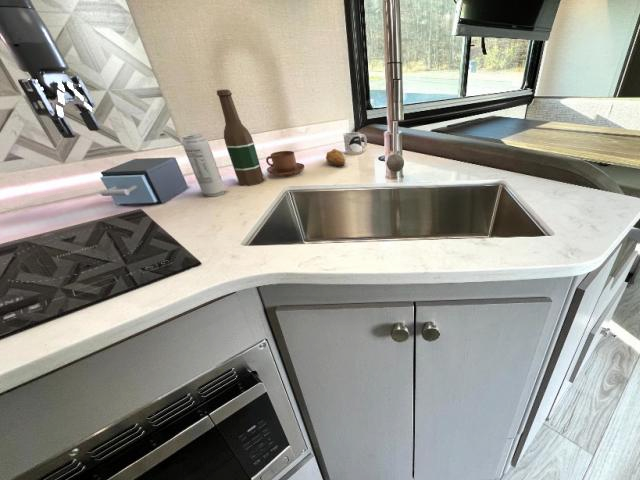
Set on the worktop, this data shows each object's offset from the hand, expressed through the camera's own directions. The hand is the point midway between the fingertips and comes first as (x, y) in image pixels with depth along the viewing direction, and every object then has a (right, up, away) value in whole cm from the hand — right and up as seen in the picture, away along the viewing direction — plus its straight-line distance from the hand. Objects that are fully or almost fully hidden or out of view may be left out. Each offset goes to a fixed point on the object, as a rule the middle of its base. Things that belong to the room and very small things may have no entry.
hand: (83, 133), depth 71 cm
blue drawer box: (+1, -7, +19) cm, 21 cm away
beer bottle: (+25, -1, +27) cm, 37 cm away
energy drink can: (+18, -7, +20) cm, 28 cm away
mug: (+54, +22, +56) cm, 81 cm away
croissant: (+49, +11, +42) cm, 65 cm away
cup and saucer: (+34, +5, +34) cm, 48 cm away
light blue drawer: (+1, -10, +15) cm, 18 cm away
